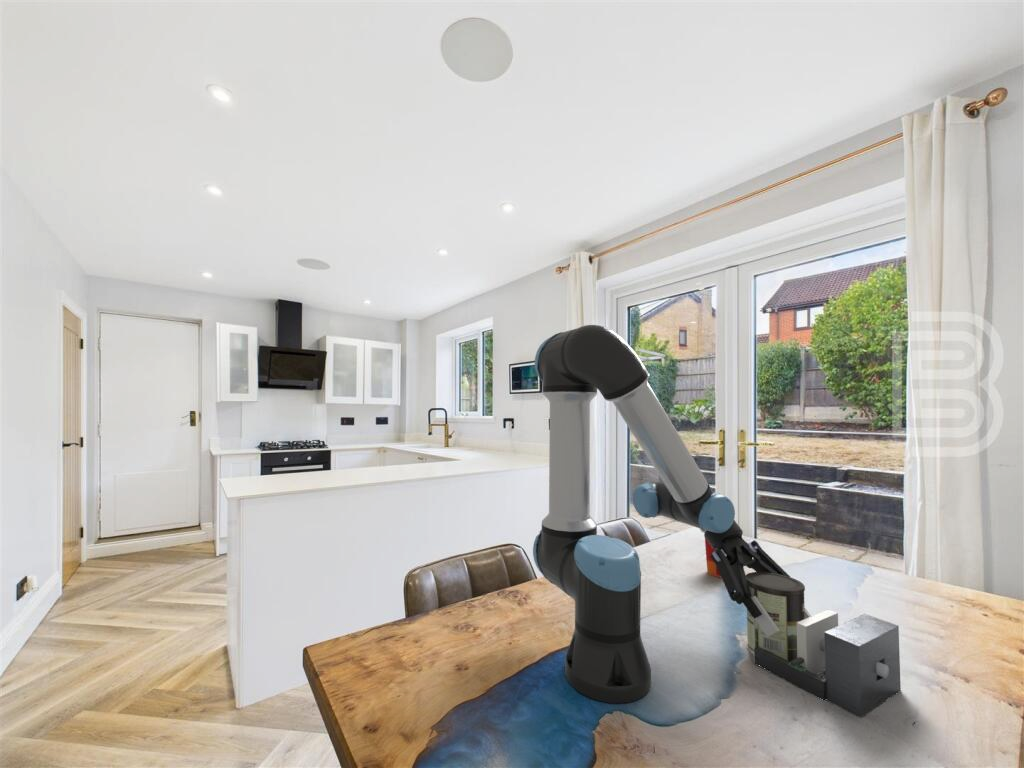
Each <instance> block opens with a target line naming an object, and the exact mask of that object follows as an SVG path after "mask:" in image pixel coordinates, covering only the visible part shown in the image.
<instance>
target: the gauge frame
mask: <svg viewBox="0 0 1024 768" xmlns="http://www.w3.org/2000/svg"><path fill="white" fill-rule="evenodd" d="M899 628H900V627H899V625H898V624H895V623H892V622H889V621H887V620H884V619H880V618H877V617H875V616H872V615H869V614H866V613H864V614H861V615H859V616H857V617H855V618H853V619H850V620H848V621H845V622H843V623H841V624H838V626H837V627H835V628H832V629H830V630H828V631H826V632H824V637H825V670H824V673H825V675H824V676H825V678H824V677H823V676H820V675H818V674H814V673H812V672H810V671H808V670H806V668H805V667H802V666H800V665H798V666H796V667H793V666H791V664H790V661H788V660H786V659H783V658H781V657H779V656H777V655H775V654H773V653H771V652H769V651H767V650H765V649H763V648H761V647H759V646H757V647H755V648H754V655H753V656H754V665H756V664H757V665H756V666H758V665H760V666H761V667H763V668H765V669H766V670H765V669H764V670H765V671H767V670H768V671H767V672H769V671H770V672H769V673H771V674H773V675H775V676H777V677H778V676H779V677H778V678H780V679H782V680H784V681H786V682H788V683H790V684H792V685H794V686H796V687H798V688H799V689H801V690H804V691H805V692H807V693H808V694H810V693H811V694H810V695H812V694H813V696H814V695H815V696H814V697H816V696H817V697H816V698H818V697H819V698H818V699H820V698H821V699H820V700H822V699H823V700H822V701H824V700H825V701H828V702H830V703H832V704H833V703H834V705H835V704H836V706H837V707H839V708H842V709H843V710H845V711H847V712H849V713H851V714H853V715H854V716H857V717H858V718H861V719H862V718H864V717H865V716H866V715H868V714H869V713H871V712H872V711H873V710H875V709H876V707H877V708H878V707H880V706H881V705H882V704H884V703H885V702H887V701H888V700H889V699H888V698H890V697H891V698H892V696H893V695H894V696H896V695H897V694H899V693H900V692H901V691H902V690H901V689H902V688H901V661H900V659H901V657H900V634H899V633H900V629H899ZM877 662H880V663H882V664H885V665H887V666H888V668H889V673H888V676H887V678H883V677H881V676H879V675H877V671H876V663H877ZM760 666H759V667H760ZM761 667H760V668H761ZM763 668H762V669H763ZM899 691H900V692H899ZM896 693H897V694H896ZM894 696H893V697H894ZM891 698H890V699H891ZM826 699H827V700H826ZM887 699H888V700H887ZM886 700H887V701H886ZM883 702H884V703H883ZM880 704H881V705H880Z"/></svg>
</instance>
